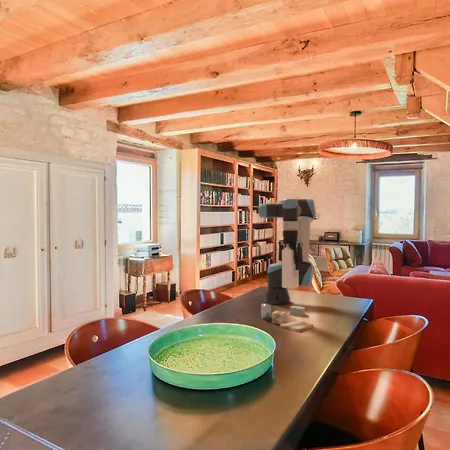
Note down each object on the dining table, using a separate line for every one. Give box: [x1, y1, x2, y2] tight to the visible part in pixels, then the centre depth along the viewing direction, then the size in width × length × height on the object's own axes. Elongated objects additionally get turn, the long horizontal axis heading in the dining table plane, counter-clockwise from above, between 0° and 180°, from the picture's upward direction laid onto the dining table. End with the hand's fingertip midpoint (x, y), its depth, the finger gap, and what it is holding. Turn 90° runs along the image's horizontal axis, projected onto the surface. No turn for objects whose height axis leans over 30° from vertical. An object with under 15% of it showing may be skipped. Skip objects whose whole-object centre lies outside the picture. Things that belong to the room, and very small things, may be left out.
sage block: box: [289, 305, 306, 317], centre depth 196 cm, size 7×4×4 cm, turn 56°
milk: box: [281, 244, 299, 290], centre depth 186 cm, size 6×6×22 cm
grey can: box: [260, 302, 272, 321], centre depth 190 cm, size 5×5×7 cm
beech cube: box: [271, 310, 287, 325], centre depth 182 cm, size 5×5×5 cm
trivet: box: [279, 319, 314, 333], centre depth 175 cm, size 11×11×1 cm
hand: (290, 275), depth 187 cm, fingers closed on milk, 6 cm apart
